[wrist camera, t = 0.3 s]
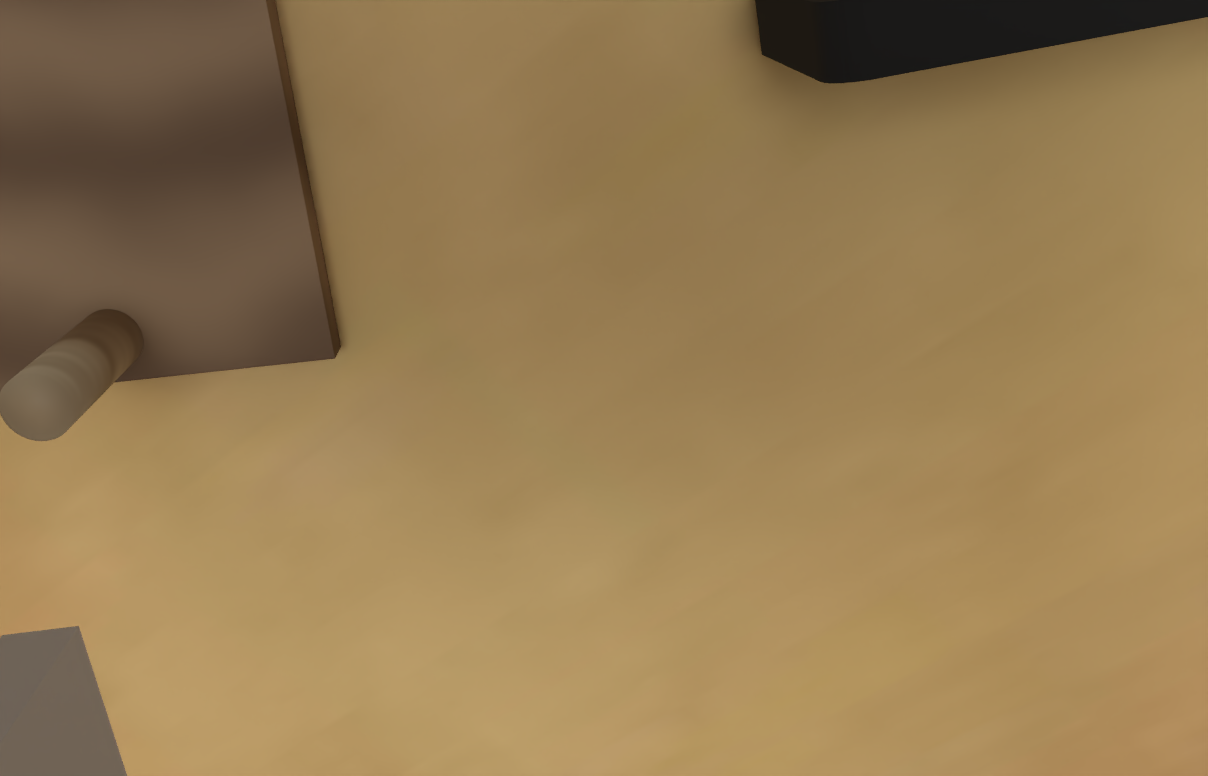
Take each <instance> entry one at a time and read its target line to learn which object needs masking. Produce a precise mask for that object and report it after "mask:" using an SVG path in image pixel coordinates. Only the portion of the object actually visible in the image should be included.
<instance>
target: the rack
mask: <svg viewBox="0 0 1208 776" xmlns="http://www.w3.org/2000/svg"><path fill="white" fill-rule="evenodd" d="M340 347H341V345H340V340H339V335H338V329H337V324H336V319H335V314H334V308H333V303H332V298H331V293H330V287H329V282H328V277H327V272H326V266H325V261H324V256H323V251H322V245H321V240H320V235H319V230H318V224H317V219H316V214H315V209H314V203H313V198H312V193H311V188H310V182H309V177H308V172H307V166H306V161H305V156H304V151H303V145H302V140H301V135H300V130H299V124H298V119H297V114H296V109H295V103H294V98H293V93H292V88H291V82H290V77H289V72H288V67H287V61H286V56H285V51H284V46H283V40H282V35H281V30H280V24H279V19H278V14H277V9H276V3H275V0H0V413H1V416H2V418H3V420H4V421H5V423H6V424H7V425H8V426H9V427H10V428H11V429H12V430H13V431H14V432H16V433H17V434H19V435H20V436H22V437H25V438H27V439H31V440H35V441H48V440H52V439H55V438H58V437H60V436H61V435H63V434H64V433H65V432H66V431H67V430H68V429H69V428H70V427H71V426H72V425H73V424H74V423H75V422H76V421H77V420H78V419H79V418H80V417H81V416H82V415H83V414H84V413H85V412H86V411H87V410H88V409H89V408H90V407H91V406H92V404H93V403H94V402H95V401H96V400H97V399H98V398H99V397H100V396H101V395H102V394H103V393H104V392H105V391H106V390H107V389H108V388H109V387H110V386H111V385H112V384H113V383H114V382H121V381H131V380H140V379H149V378H158V377H168V376H177V375H186V374H195V373H205V372H214V371H223V370H233V369H242V368H251V367H260V366H270V365H279V364H288V363H297V362H307V361H316V360H325V359H334V358H335V357H336V355H337V353H338V351H339V349H340Z"/></svg>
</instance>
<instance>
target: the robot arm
mask: <svg viewBox="0 0 1208 776" xmlns="http://www.w3.org/2000/svg"><path fill="white" fill-rule="evenodd" d="M0 776H127V774H126V771H125V768H124V765H123V762H122V759H121V756H120V752H119V749H118V746H117V743H116V740H115V737H114V734H113V731H112V728H111V725H110V722H109V718H108V715H107V712H106V709H105V706H104V703H103V700H102V697H101V694H100V691H99V688H98V684H97V681H96V678H95V675H94V672H93V669H92V666H91V663H90V660H89V657H88V654H87V650H86V647H85V644H84V641H83V638H82V635H81V632H80V629H79V626H75V627H67V628H58V629H50V630H42V631H33V632H25V633H17V634H8V635H2V636H1V638H0Z"/></svg>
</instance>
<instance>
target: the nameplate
mask: <svg viewBox="0 0 1208 776" xmlns="http://www.w3.org/2000/svg"><path fill="white" fill-rule="evenodd" d="M756 9H757V17H758V25H759V34H760V42H761V51H762V55H764V56H766V57H769V58H771V59H773V60H775V61H777V62H779V63H782V64H784V65H786V66H788V67H790V68H792V69H794V70H797V71H799V72H801V73H803V74H805V75H807V76H810V77H812V78H814V79H816V80H818V81H820V82H824V83H847V82H857V81H865V80H872V79H877V78H883V77H888V76H893V75H899V74H904V73H909V72H915V71H920V70H925V69H931V68H936V67H941V66H947V65H952V64H958V63H963V62H968V61H974V60H979V59H984V58H990V57H995V56H1000V55H1006V54H1011V53H1017V52H1022V51H1027V50H1033V49H1038V48H1043V47H1049V46H1054V45H1059V44H1065V43H1070V42H1076V41H1081V40H1086V39H1092V38H1097V37H1102V36H1108V35H1113V34H1118V33H1124V32H1129V31H1135V30H1140V29H1145V28H1151V27H1156V26H1161V25H1167V24H1172V23H1177V22H1183V21H1188V20H1194V19H1199V18H1204V17H1208V0H756Z"/></svg>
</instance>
